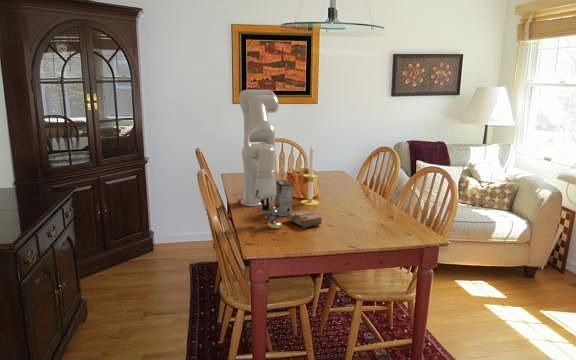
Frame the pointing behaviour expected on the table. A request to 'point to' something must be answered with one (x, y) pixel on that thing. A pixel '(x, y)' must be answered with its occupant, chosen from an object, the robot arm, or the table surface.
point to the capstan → (272, 216)
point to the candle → (310, 181)
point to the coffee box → (283, 196)
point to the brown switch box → (304, 218)
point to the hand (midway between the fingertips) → (265, 212)
